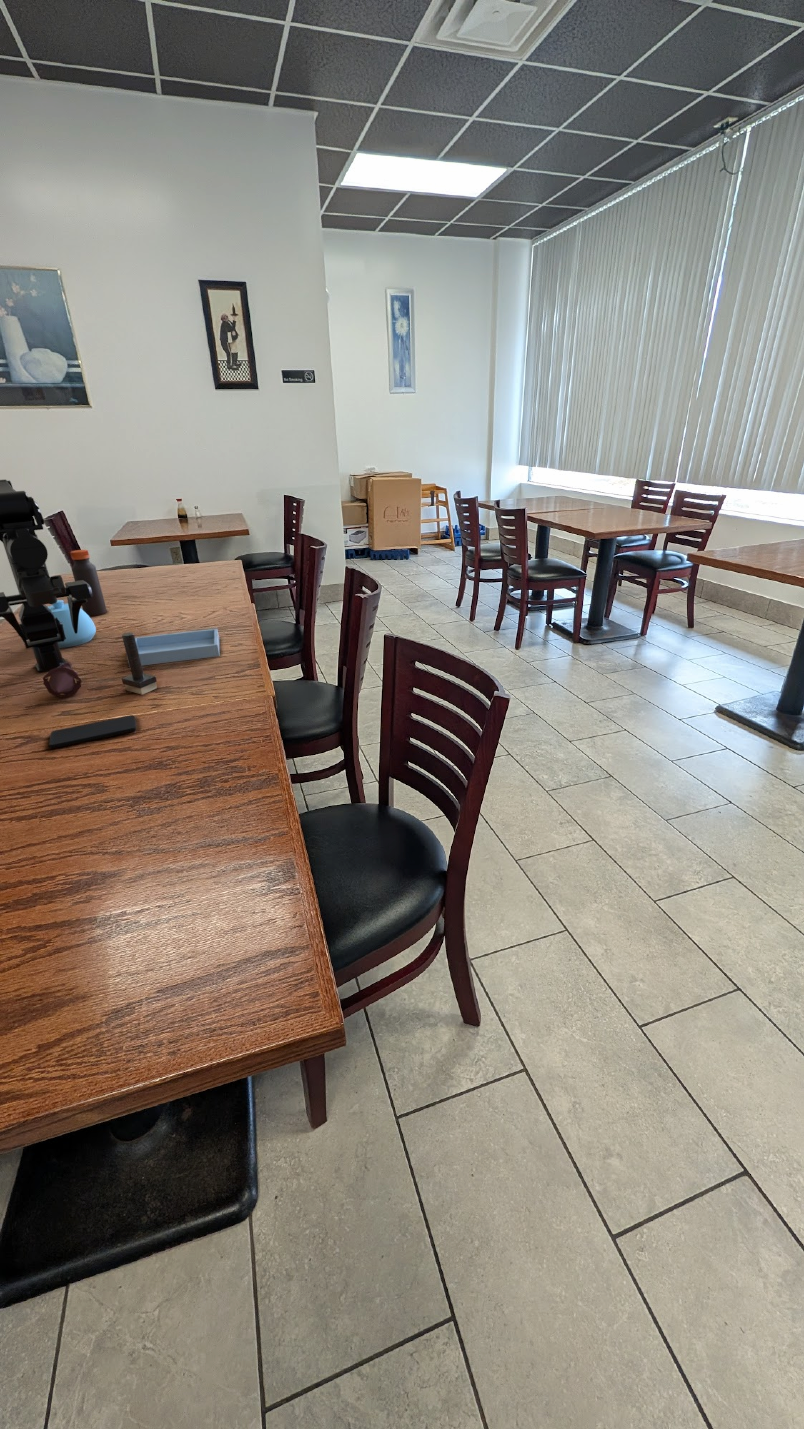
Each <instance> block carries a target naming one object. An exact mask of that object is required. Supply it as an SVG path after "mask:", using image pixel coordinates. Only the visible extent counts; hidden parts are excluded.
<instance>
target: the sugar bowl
mask: <svg viewBox="0 0 804 1429" xmlns="http://www.w3.org/2000/svg"><path fill="white" fill-rule="evenodd" d="M47 607H48V608H49V609H50V610H51V611H52V613H53V615H54V617H55V618H56V617H57V618H58V620H59V621H60V622H62V624H63V629H64V633H65V637H66V639H65V640H64V642H58V645H59V648H60V649H65V648H71V647H72V648H73V647H77V646H80V645H83V644H86V643H88V642H90V641H91V640H92V639H93V638H94V637H95V634H96V633H97V627H96V625H95V623H94V621H93V619H92V618H91V616H88V615H87V614H86V613H85V612H84V611H83V608H82V607H81V608H80V612H79V619H78V631H77V633H76V634H75V632H74V630H73V626H72V622H71V616H70V611H69V605H68V602H67V603H64V600H63V599H57V602H56V603H55V604H51V605H49V606H47ZM57 635H58V634H57Z"/></svg>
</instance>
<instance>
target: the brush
mask: <svg viewBox="0 0 804 1429" xmlns="http://www.w3.org/2000/svg"><path fill="white" fill-rule="evenodd" d="M121 637H122V638H121V639H122V642H123V645H124V649H125V650H124V651H125V653H126V658H127V657H128V659H127V662H128V661H129V663H128V666H129V665H130V667H129V668H130V672H131V674H128V675H126V676H124V677H122V678H121V681H122V684H123V685H124V688H125V691H127V692H131V693H134V694H138V695H141V696H143V695H146V694H147V693H149V692H152V691H154V690H157V689H158V686H157V682H158V681H157V677H156V675H153V674H149V673H144V669H143V666H142V665H141V661H140V657H139V653H138V648H137V644H136V640H135V638H136V637H135V633H134V632H124V633H123V634H121Z"/></svg>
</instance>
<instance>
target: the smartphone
mask: <svg viewBox="0 0 804 1429" xmlns="http://www.w3.org/2000/svg"><path fill="white" fill-rule="evenodd" d="M136 722H137V721H136V716H135V715H131V714H130V715H126V716H125V715H124V716H120V717H116V718H110V719H106V720H101V721H96V722H90V723H85V724H81V725H75V726H70V727H66V728H61V729H56V730H52V731H51V732H50V736H49V741H48V748H49V749H56V748H62V747H67V746H71V745H76V744H81V743H85V742H90V741H96V740H99V739H104V738H110V737H114V736H115V737H116V736H119V735H124V734H129V733H132V732H135V731H137V723H136Z"/></svg>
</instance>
